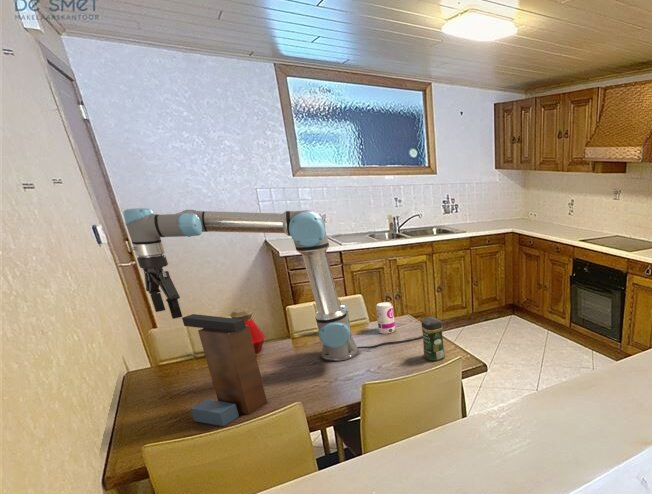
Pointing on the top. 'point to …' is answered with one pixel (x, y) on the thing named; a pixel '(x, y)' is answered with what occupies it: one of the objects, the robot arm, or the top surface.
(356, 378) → the top surface
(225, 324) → the back pad
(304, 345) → the top surface
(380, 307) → the supplement can
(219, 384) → the walnut post
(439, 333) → the coffee jar
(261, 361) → the top surface
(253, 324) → the bottle
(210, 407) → the base pad
